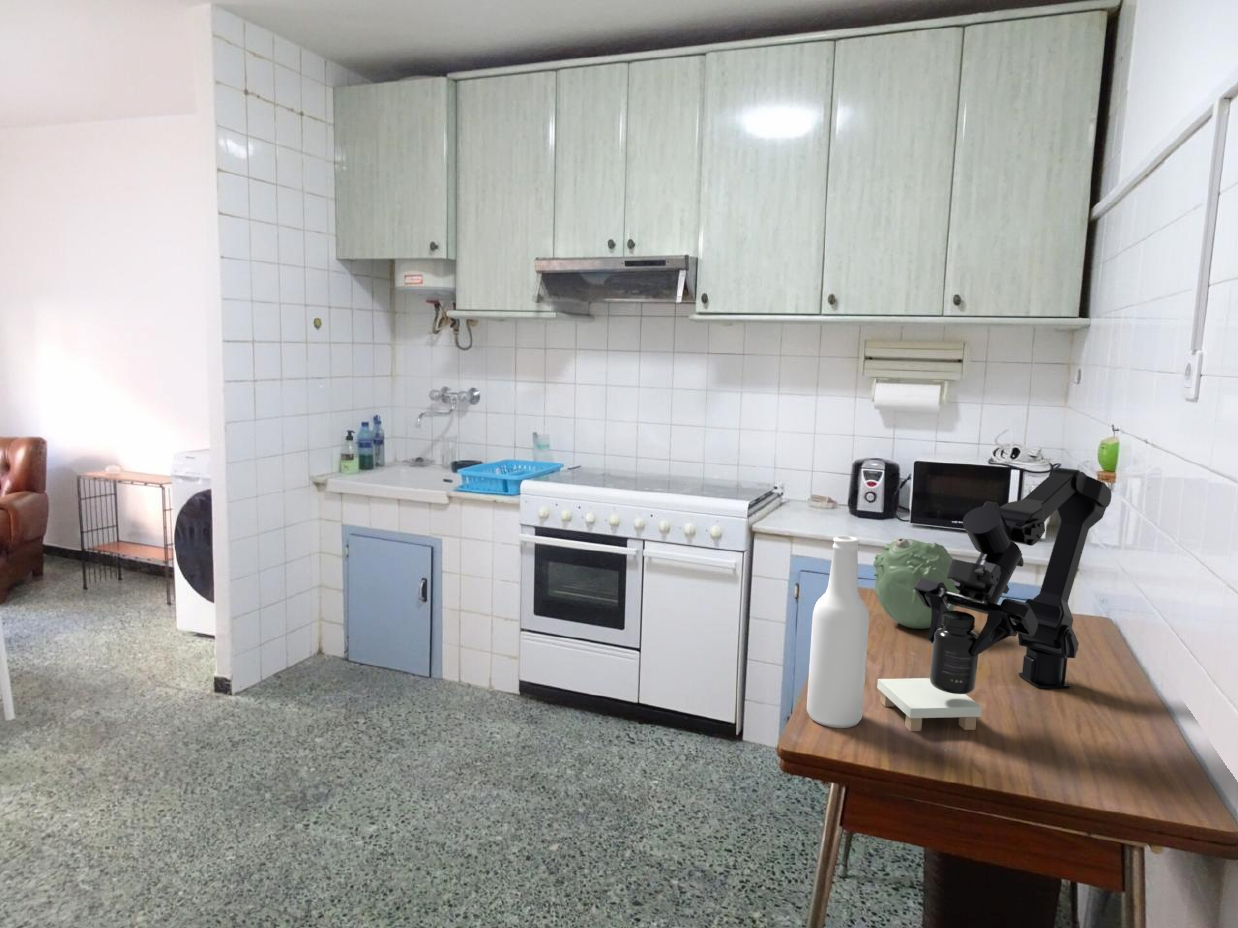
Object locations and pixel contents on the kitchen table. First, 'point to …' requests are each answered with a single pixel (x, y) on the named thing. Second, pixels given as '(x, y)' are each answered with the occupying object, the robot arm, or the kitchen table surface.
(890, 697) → the white square riser
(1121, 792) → the kitchen table surface
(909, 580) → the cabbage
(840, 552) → the alcohol
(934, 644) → the supplement bottle
